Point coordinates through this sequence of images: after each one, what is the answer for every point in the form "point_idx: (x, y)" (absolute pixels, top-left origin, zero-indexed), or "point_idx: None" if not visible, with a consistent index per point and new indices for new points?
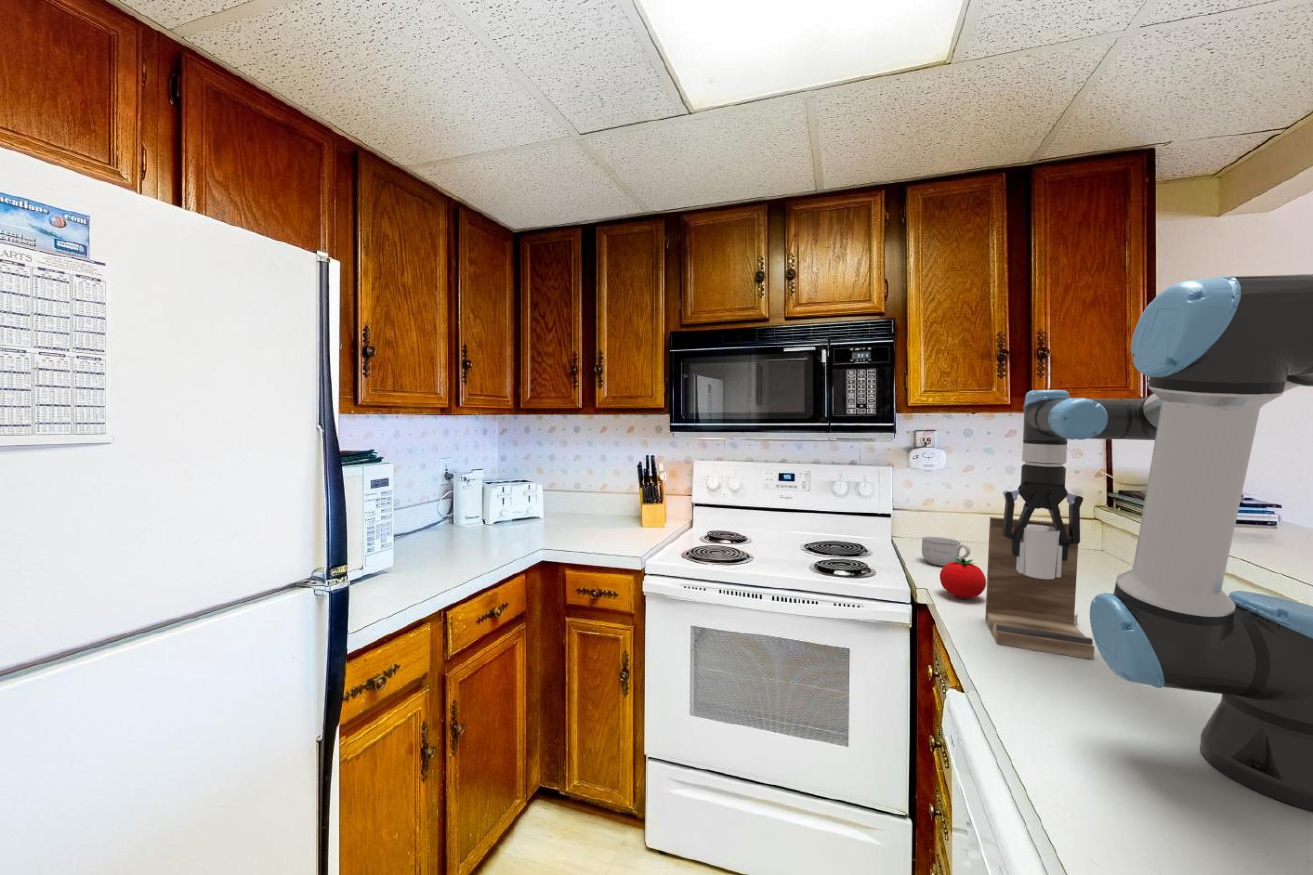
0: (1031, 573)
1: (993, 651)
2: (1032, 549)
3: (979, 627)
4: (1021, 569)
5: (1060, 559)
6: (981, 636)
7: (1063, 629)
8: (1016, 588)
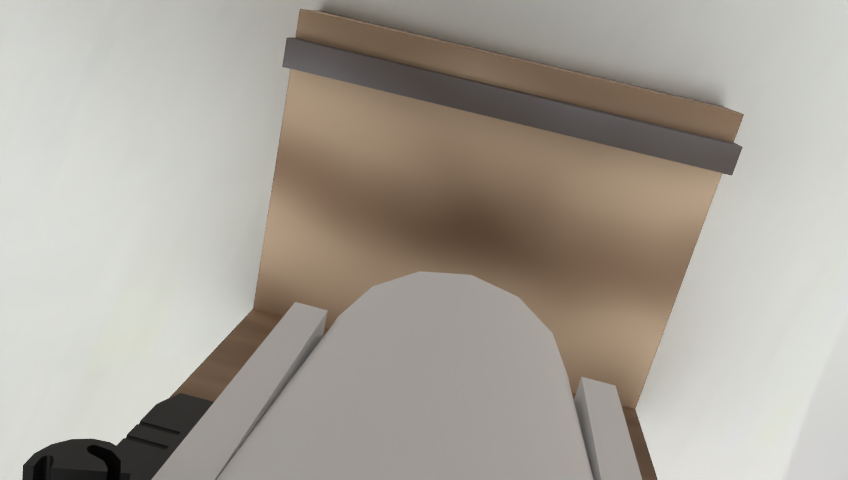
0: (539, 331)
1: (799, 2)
2: (565, 471)
3: (697, 317)
4: (601, 400)
5: (240, 387)
6: (753, 199)
7: (341, 226)
8: None
